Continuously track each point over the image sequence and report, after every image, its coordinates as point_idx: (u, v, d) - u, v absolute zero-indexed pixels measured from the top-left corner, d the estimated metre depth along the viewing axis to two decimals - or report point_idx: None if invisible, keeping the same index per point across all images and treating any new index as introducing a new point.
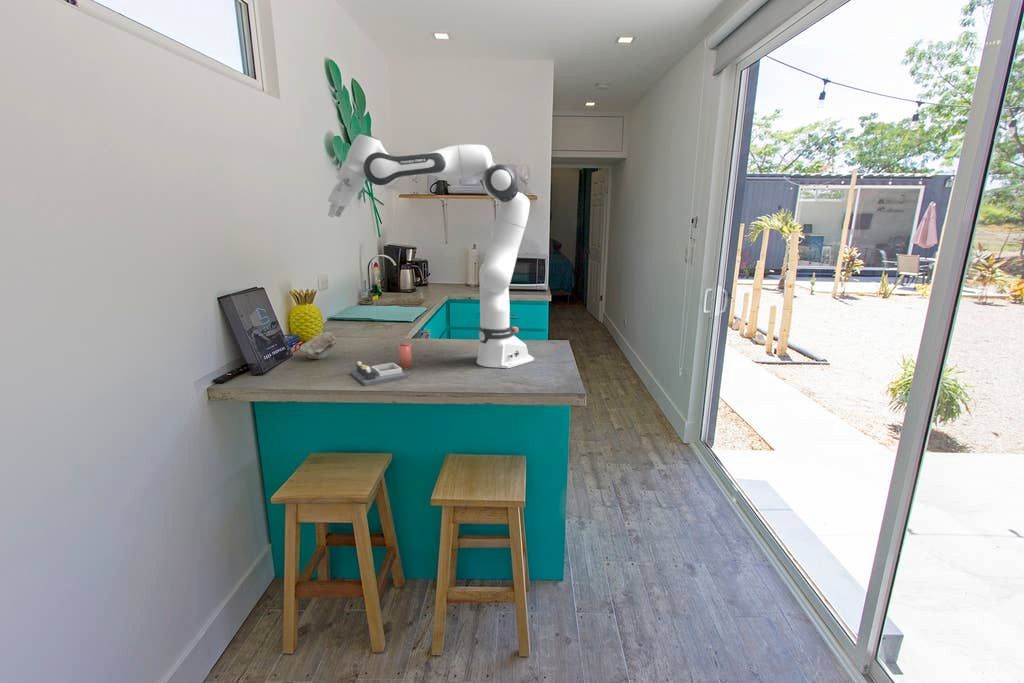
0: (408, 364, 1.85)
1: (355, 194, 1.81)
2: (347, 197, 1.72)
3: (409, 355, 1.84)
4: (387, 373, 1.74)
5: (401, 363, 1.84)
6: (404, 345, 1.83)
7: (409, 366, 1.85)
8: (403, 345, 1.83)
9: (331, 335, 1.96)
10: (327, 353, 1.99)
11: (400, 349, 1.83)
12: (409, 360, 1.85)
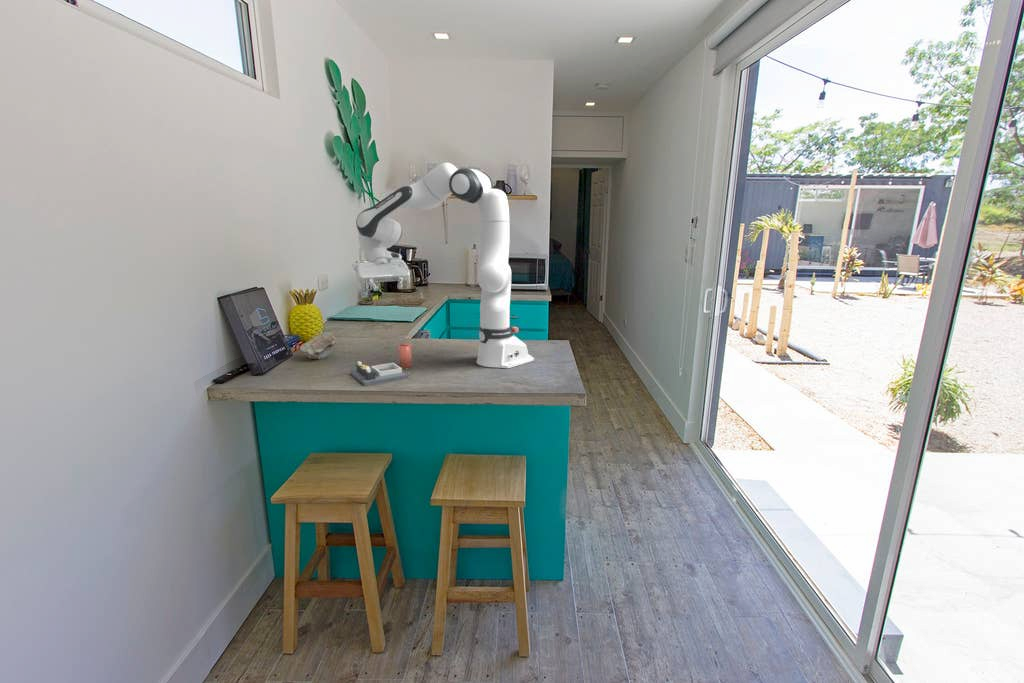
0: (408, 364, 1.85)
1: (401, 264, 1.96)
2: (379, 269, 1.91)
3: (409, 355, 1.84)
4: (387, 373, 1.74)
5: (401, 363, 1.84)
6: (404, 345, 1.83)
7: (409, 366, 1.85)
8: (403, 345, 1.83)
9: (331, 335, 1.96)
10: (327, 353, 1.99)
11: (400, 349, 1.83)
12: (409, 360, 1.85)
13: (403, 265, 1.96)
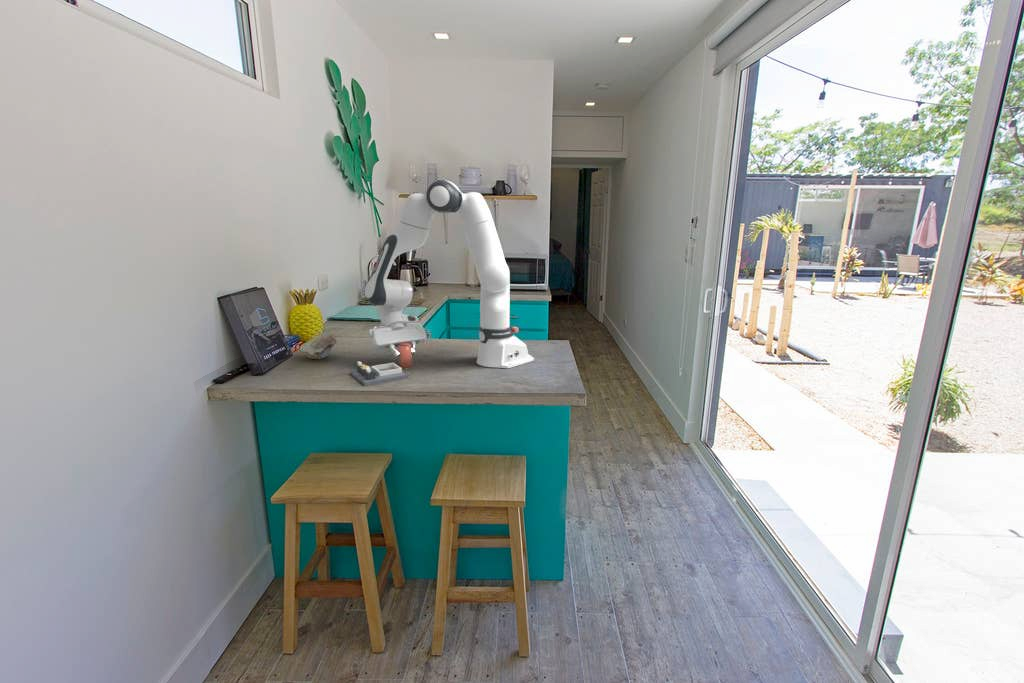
0: (408, 364, 1.85)
1: (418, 327, 1.92)
2: (396, 334, 1.86)
3: (409, 355, 1.84)
4: (387, 373, 1.74)
5: (401, 363, 1.84)
6: (404, 345, 1.83)
7: (409, 366, 1.85)
8: (403, 345, 1.83)
9: (331, 335, 1.96)
10: (327, 353, 1.99)
11: (400, 349, 1.83)
12: (409, 360, 1.85)
13: (420, 328, 1.92)
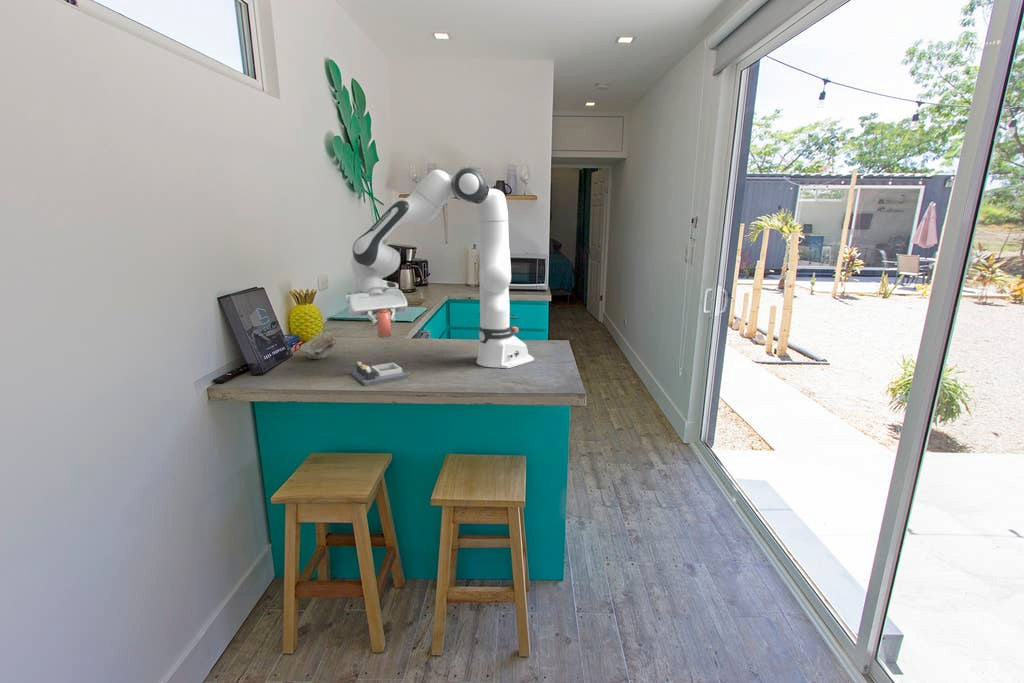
0: (386, 333, 1.73)
1: (398, 294, 1.80)
2: (374, 300, 1.74)
3: (388, 322, 1.72)
4: (387, 373, 1.74)
5: (379, 331, 1.72)
6: (382, 312, 1.71)
7: (388, 334, 1.73)
8: (381, 312, 1.71)
9: (331, 335, 1.96)
10: (327, 353, 1.99)
11: (378, 316, 1.71)
12: (388, 328, 1.73)
13: (400, 295, 1.80)
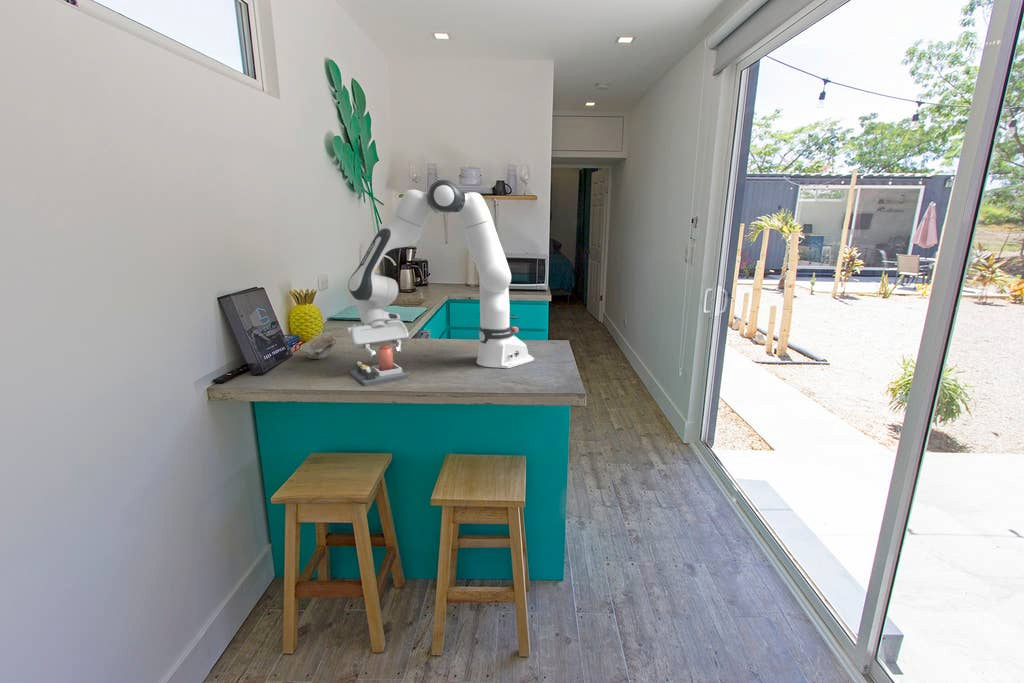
0: (389, 368, 1.76)
1: (399, 325, 1.82)
2: (376, 333, 1.77)
3: (390, 358, 1.76)
4: (387, 373, 1.74)
5: (382, 367, 1.76)
6: (385, 348, 1.74)
7: None
8: (384, 348, 1.74)
9: (331, 335, 1.96)
10: (327, 353, 1.99)
11: (380, 352, 1.74)
12: (390, 364, 1.76)
13: (402, 326, 1.82)
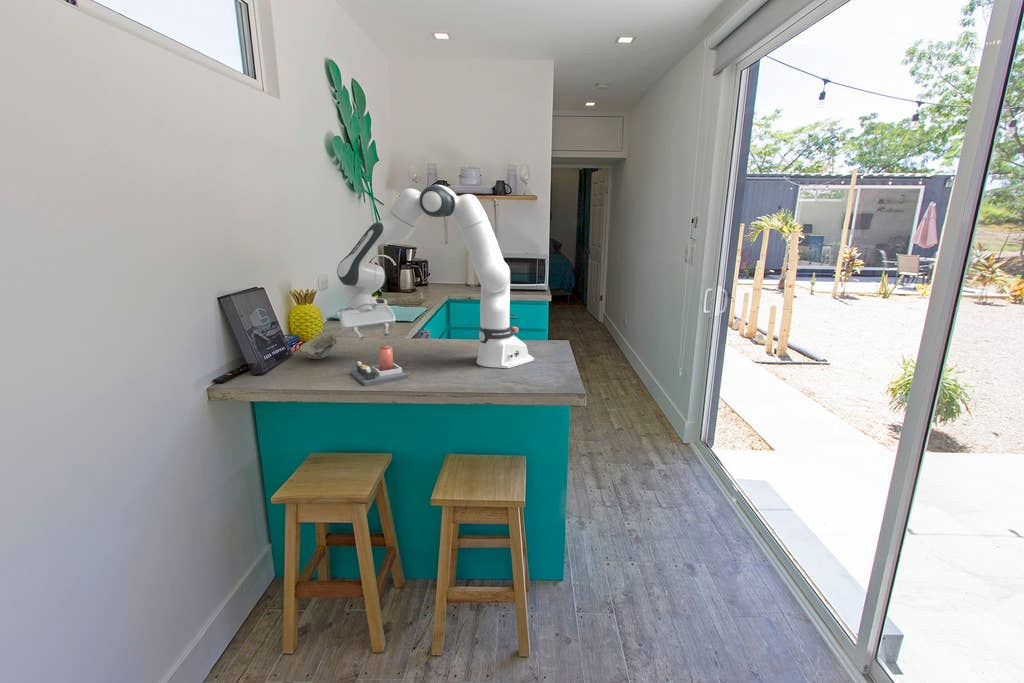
0: (389, 368, 1.76)
1: (387, 310, 1.93)
2: (364, 316, 1.87)
3: (390, 358, 1.76)
4: (387, 373, 1.74)
5: (382, 367, 1.76)
6: (385, 348, 1.74)
7: None
8: (384, 348, 1.74)
9: (331, 335, 1.96)
10: (327, 353, 1.99)
11: (380, 352, 1.74)
12: (390, 364, 1.76)
13: (389, 310, 1.93)
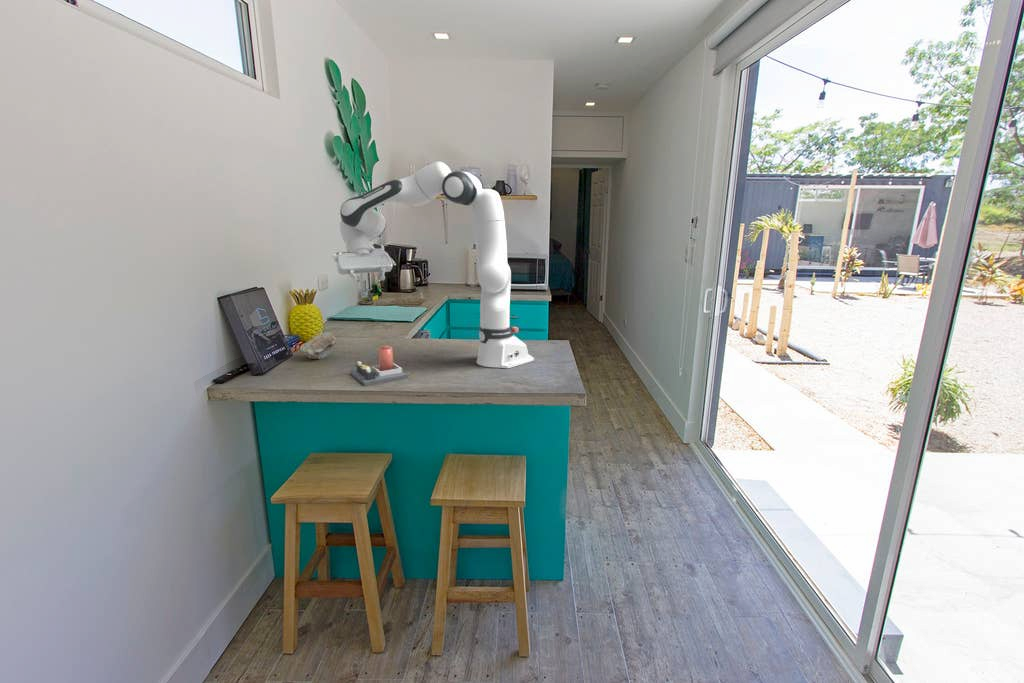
0: (389, 368, 1.76)
1: (384, 255, 1.92)
2: (361, 260, 1.86)
3: (390, 358, 1.76)
4: (387, 373, 1.74)
5: (382, 367, 1.76)
6: (385, 348, 1.74)
7: None
8: (384, 348, 1.74)
9: (331, 335, 1.96)
10: (327, 353, 1.99)
11: (380, 352, 1.74)
12: (390, 364, 1.76)
13: (386, 256, 1.92)
